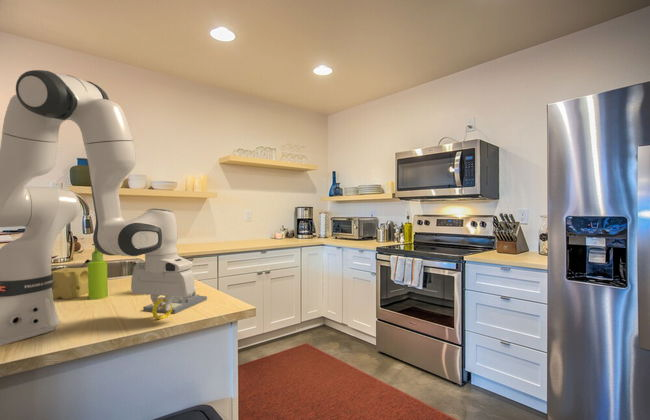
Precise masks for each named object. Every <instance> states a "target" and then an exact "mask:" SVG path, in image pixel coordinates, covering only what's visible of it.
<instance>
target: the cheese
mask: <svg viewBox="0 0 650 420" xmlns="http://www.w3.org/2000/svg"><path fill="white" fill-rule="evenodd" d="M51 274H53V280H54V287H53V291H52V293H53V300H57V299H62V300H73V299H76V298H78V297H80V296H83V295H86V294H88V267H84V268H80V267H64V268H59V269H56V270H51Z"/></svg>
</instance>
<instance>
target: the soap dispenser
mask: <svg viewBox="0 0 650 420" xmlns="http://www.w3.org/2000/svg"><path fill="white" fill-rule="evenodd" d="M91 246H93V247H94V251H93V252H91V260H92V261H91V262H88V293H87V294H88V300H102V299H105V298H108V294H109V293H108V287H109V286H108V283H109V282H108V260H104V254H103V253H101V252H100V251H98V250H97V248H96V247H95V245H94V243H91Z"/></svg>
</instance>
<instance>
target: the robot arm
mask: <svg viewBox="0 0 650 420" xmlns="http://www.w3.org/2000/svg"><path fill="white" fill-rule="evenodd" d="M3 118H4V119H3V124H2V132H1V140H0V141H1V142H0V228H12V227H13V228H15V227H18V228H19V227H25V229H24V232H23V234H22V235H21V236H20V237H18V238H16V239H14V240H11V241H9V242H7V243H5V244H4V245H2V246H1V247H0V346H3V345H8V344H10V343H14V342H17V341H22V340H26V339H28V338H29V339H30V338H32V337H35V336H39V335H43V334H46V333H49V332H53V331H55V329H56V327H57V326H58V325H59V324H60V319H59V316H58V314H57V313H58V312H57V310H56V306H55V301H54V300H55V299H53V293H52V291H53V287H54V280H53V274H51V271H52V254H53V248H54V244H55V241H56V239H57V238H58V236H59V234H60V233H61V231H62V230H63V229H64V228H65V227H67V225H69V224H71V223H72V222H73V221H74V220H76V219H77V217H78V216H79V214H80V211H81V201H80V199H79V198H78V195H76V194H75V193H74V191H72V190H67V189H64V188H58V187H51V186H49V187H48V186H47V187H46V186H27V185H28V184H29V182H31V181H32V180H33V179H35V178H37V177H40V176H43V175H47V174H48V173H49V172H51V171H52V170H53V169H54V168H55V166H56V160H57V152H58V151H57V150H58V145H59V144H58V143H59V133H60V127H61V125H62V124H63V122H65V121H71V122H73V123H74V124H76V125H77V126H78V128H79V130H80V132H81V135H82V136H81V137H82V141H83V146H84V151H85V155H86V159H87V164H88V171H89V177H90V187H91V188H90V189H91V190H90V191H91V194H92V202H93V208H94V210H93V211H94V216H95V226H94V230H93V236H92V240H93V244H94V245H93V246H94V248H95V247H96V248H97V250H98V251H100V252H101V253H103V255H106V256H122V257H138V256H141V255H144V262H141V261H140V262H139V261H138V262H136V264H134V266H133V267H132V268H133V269H132V270H133V271H132V275H131V283H130V289H131V292H132V293H133V294H137V295H138V294H139V295H150V300H151V302H152V304H153V303H154V304H155V302H156V301H157V298H160V296H162V297H165V299H167V300H166V303H165V304H163V305H162V303H161V302H160V303H159V304H158V307H157V310H160V309H163V310H166V311H168V310H170V309H171V303H172V301H173V299H174V296H176V297H187V296H190V295H192V294H193V292H194V289H195V286H194V285H195V274H194V272H193V271H192V269H193V265H194V264H193V262H192V261H191V260H189V259H186V258H184V257H182V256H180V255H179V253H178V248H177V241H178V223H177V221H178V220H177V217H176V214H175V213H174V212H173V211H171V210H167V209H163V208H149V209H147V210H146V211H144V213H142V214H141V215H139V216H137V217H134V218H133V219H132V218H131V219H130V220H128V221H127V220H125V219H124V218H123V215H122V210H121V209H122V208H121V201H120V194H119V192H120V191H119V190H120V185H122V182H123V180H124V179H125V178H126V177H127V176H128V175H129V174H130V173H131V172H132V171H133V169H134V168H135V166H136V147H135V145H134V138H133V134H132V132H131V128H130V126H129V125H130V124H129V123H128V120H127V116H126V113H125V111H124V110H123V108H122V107H121V106H120V104H118V103H117V102H115V101H113V100H110V99H109V96H108V94H107V93H106V91H105V90H104V89H103V88H101V87H100V86H99V85H98V84H96V83H94V82H92V81H88V80H84V79H81V78H79V77H76V76H73V75H70V74H64V73H63V74H62V73H55V72H51V71H50V70H45V69H43V70H42V69H34V70H33V69H32V70H27V71H25V72H23V73H22V74H20V76H19V77H18V79H17V81H16V84H15V94H14V95H13V96H11V98H10V99H9V102H8V105H7V107H6V111H5V115H4V117H3ZM162 307H163V308H162Z"/></svg>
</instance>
